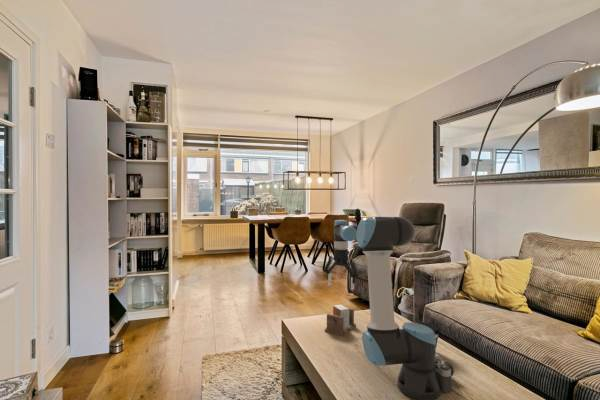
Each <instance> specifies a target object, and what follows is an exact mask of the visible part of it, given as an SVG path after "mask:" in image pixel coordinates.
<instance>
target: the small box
mask: <svg viewBox="0 0 600 400" xmlns="http://www.w3.org/2000/svg"><path fill="white" fill-rule="evenodd" d="M332 308H333V309H332V310H333V311H332V315H336V316H341V317H344V328H343V329H346V328H349V307H346V306H345V305H344V304H335V305H332Z"/></svg>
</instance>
